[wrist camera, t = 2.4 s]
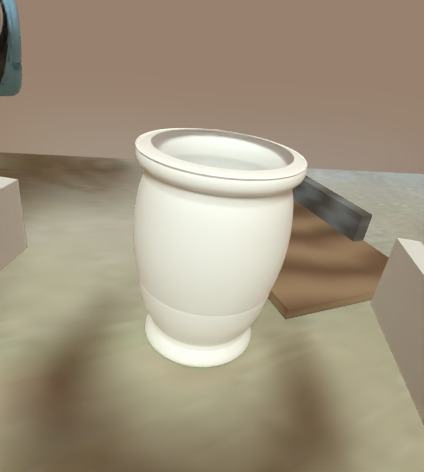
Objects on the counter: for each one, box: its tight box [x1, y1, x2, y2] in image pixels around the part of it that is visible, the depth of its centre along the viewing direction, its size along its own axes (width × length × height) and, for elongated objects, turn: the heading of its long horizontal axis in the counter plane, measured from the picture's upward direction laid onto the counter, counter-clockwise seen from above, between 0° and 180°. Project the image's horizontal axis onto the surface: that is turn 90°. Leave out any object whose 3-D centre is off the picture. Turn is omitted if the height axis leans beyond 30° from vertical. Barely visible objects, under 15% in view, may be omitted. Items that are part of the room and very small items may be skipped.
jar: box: [133, 128, 307, 367], centre depth 26 cm, size 11×10×15 cm
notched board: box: [268, 176, 389, 319], centre depth 44 cm, size 24×17×4 cm
